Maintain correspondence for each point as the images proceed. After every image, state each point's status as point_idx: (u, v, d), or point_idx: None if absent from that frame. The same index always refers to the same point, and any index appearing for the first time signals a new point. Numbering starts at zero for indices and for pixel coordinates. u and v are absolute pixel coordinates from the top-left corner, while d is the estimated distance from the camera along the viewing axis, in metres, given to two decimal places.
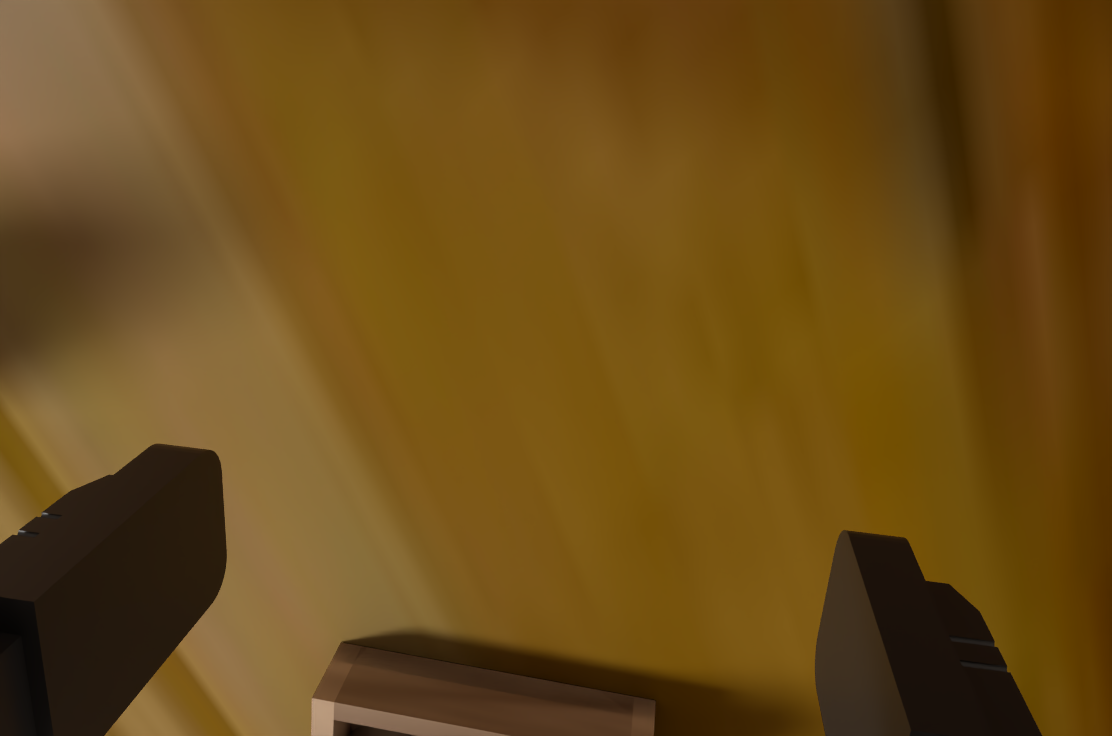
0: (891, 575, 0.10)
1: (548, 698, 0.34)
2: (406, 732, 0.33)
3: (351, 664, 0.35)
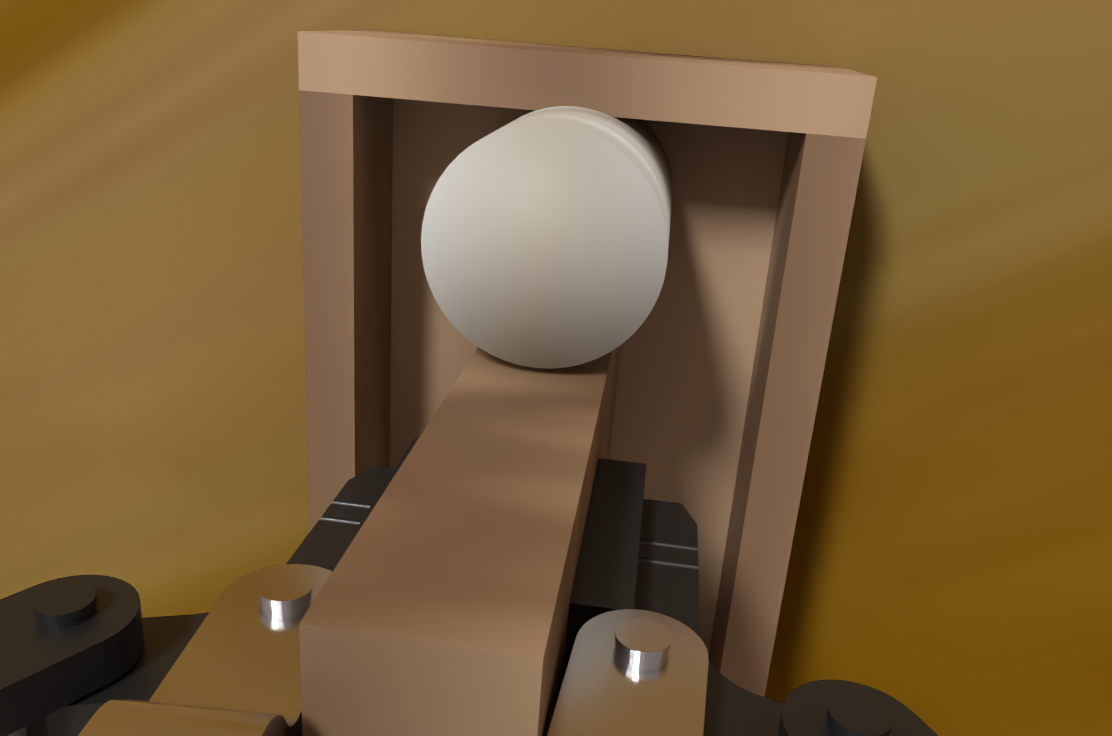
0: (615, 490, 0.11)
1: None
2: (781, 318, 0.14)
3: None
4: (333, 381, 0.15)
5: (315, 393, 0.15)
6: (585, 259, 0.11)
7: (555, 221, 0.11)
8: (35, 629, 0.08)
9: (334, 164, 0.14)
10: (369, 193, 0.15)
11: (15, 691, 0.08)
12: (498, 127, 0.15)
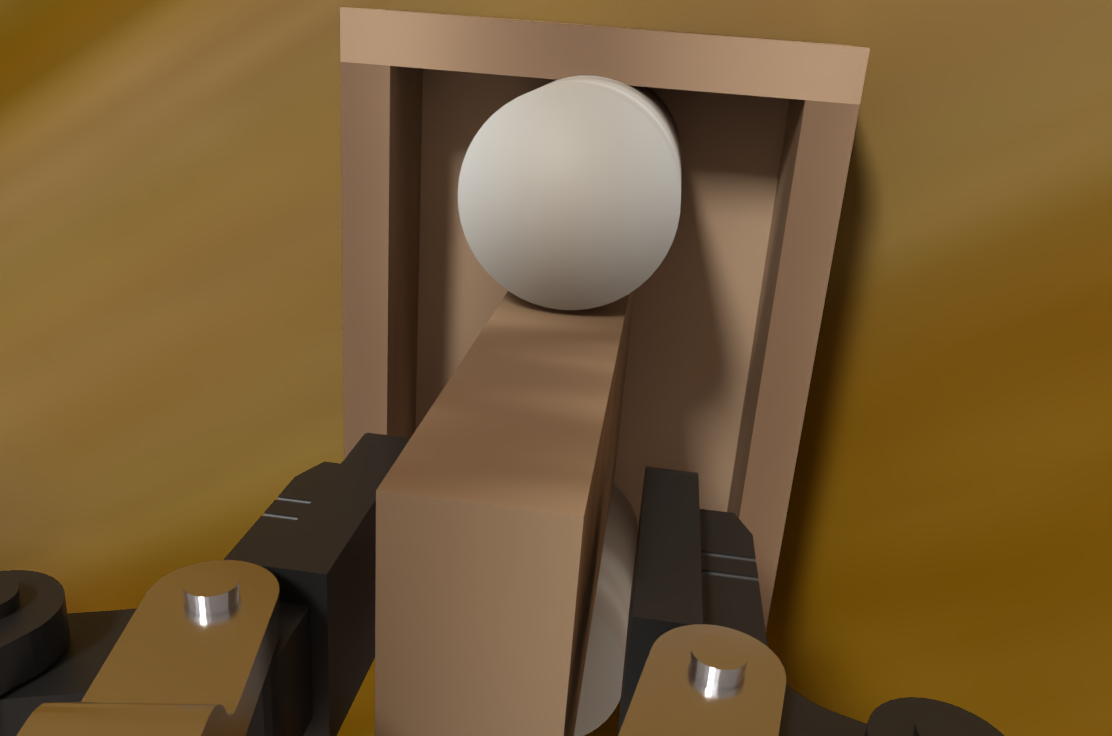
0: (670, 501, 0.11)
1: None
2: (782, 271, 0.15)
3: None
4: (367, 333, 0.16)
5: (351, 344, 0.16)
6: (607, 209, 0.13)
7: (579, 174, 0.12)
8: None
9: (371, 130, 0.15)
10: (402, 159, 0.16)
11: None
12: None
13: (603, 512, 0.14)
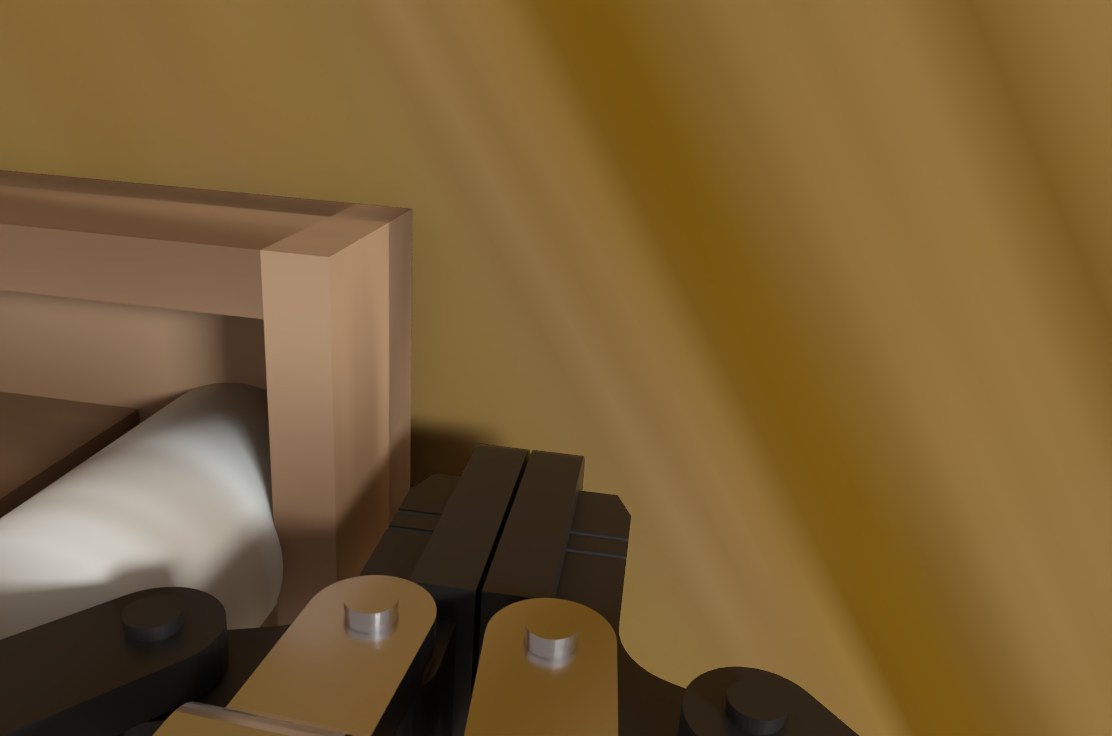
0: (548, 482, 0.12)
1: None
2: None
3: None
4: None
5: None
6: None
7: None
8: (122, 641, 0.08)
9: (178, 284, 0.11)
10: None
11: (95, 707, 0.07)
12: None
13: None
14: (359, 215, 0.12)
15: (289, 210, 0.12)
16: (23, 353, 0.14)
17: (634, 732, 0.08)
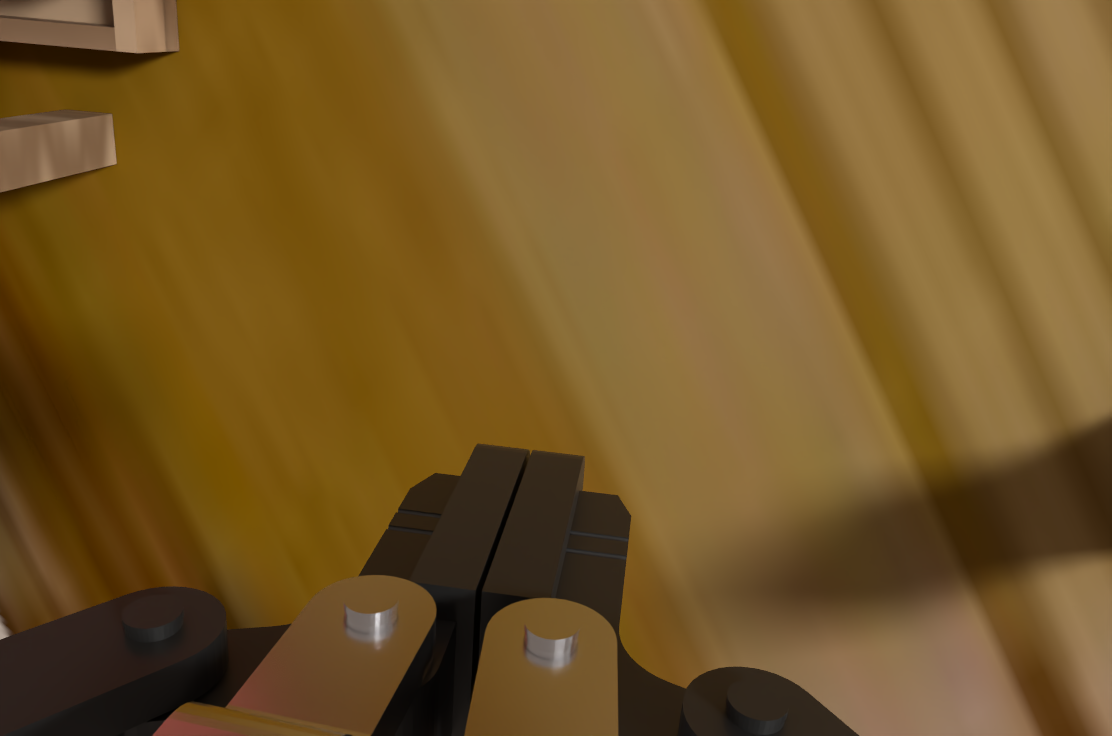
0: (548, 482, 0.12)
1: None
2: (45, 23, 0.34)
3: None
4: None
5: None
6: None
7: None
8: (121, 641, 0.08)
9: None
10: None
11: (95, 707, 0.07)
12: None
13: None
14: None
15: None
16: None
17: (634, 732, 0.08)
